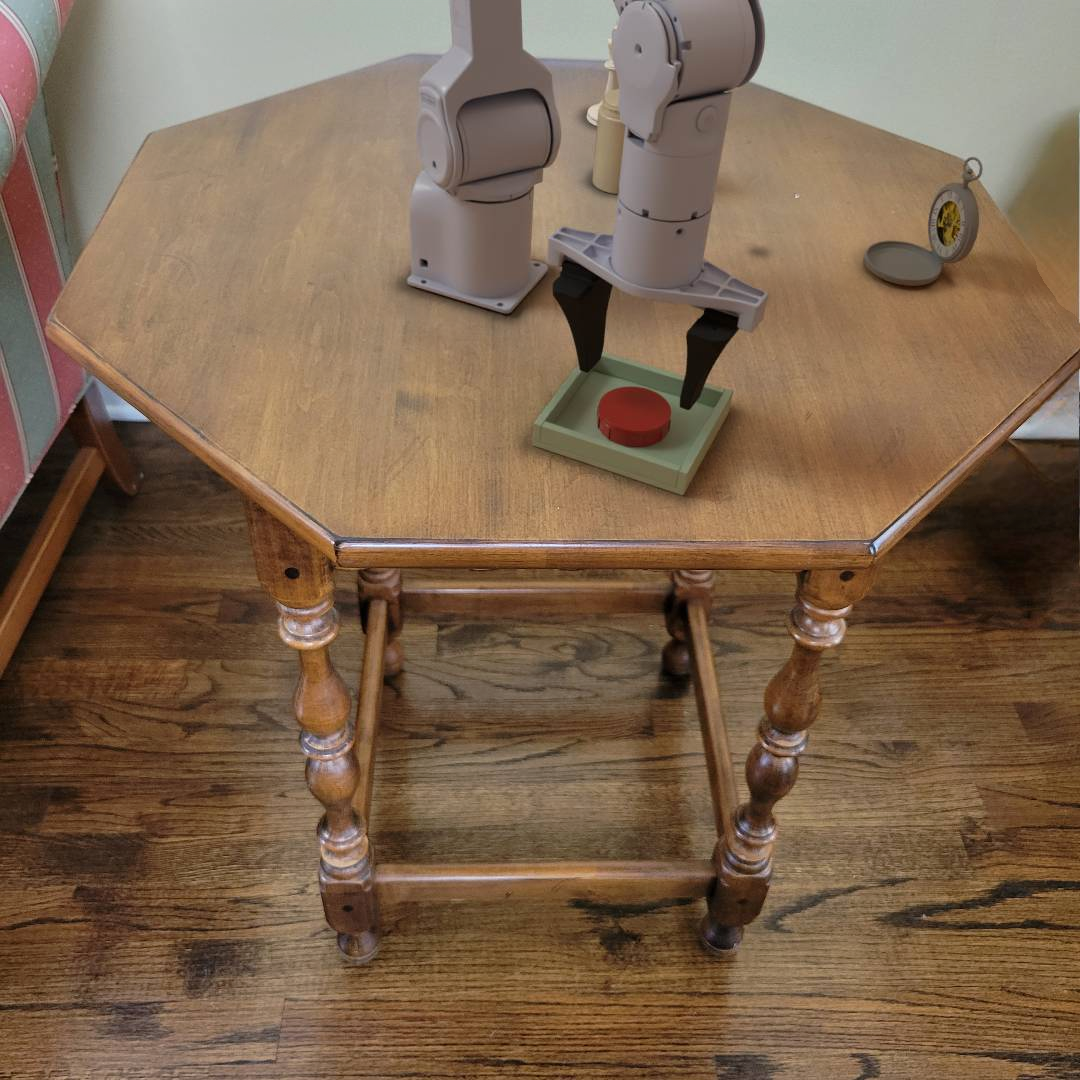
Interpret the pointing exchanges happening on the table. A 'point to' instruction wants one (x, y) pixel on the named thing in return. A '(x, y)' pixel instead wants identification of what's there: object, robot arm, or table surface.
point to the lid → (633, 416)
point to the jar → (608, 145)
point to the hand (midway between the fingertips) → (639, 382)
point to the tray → (661, 464)
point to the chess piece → (611, 83)
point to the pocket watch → (932, 238)
